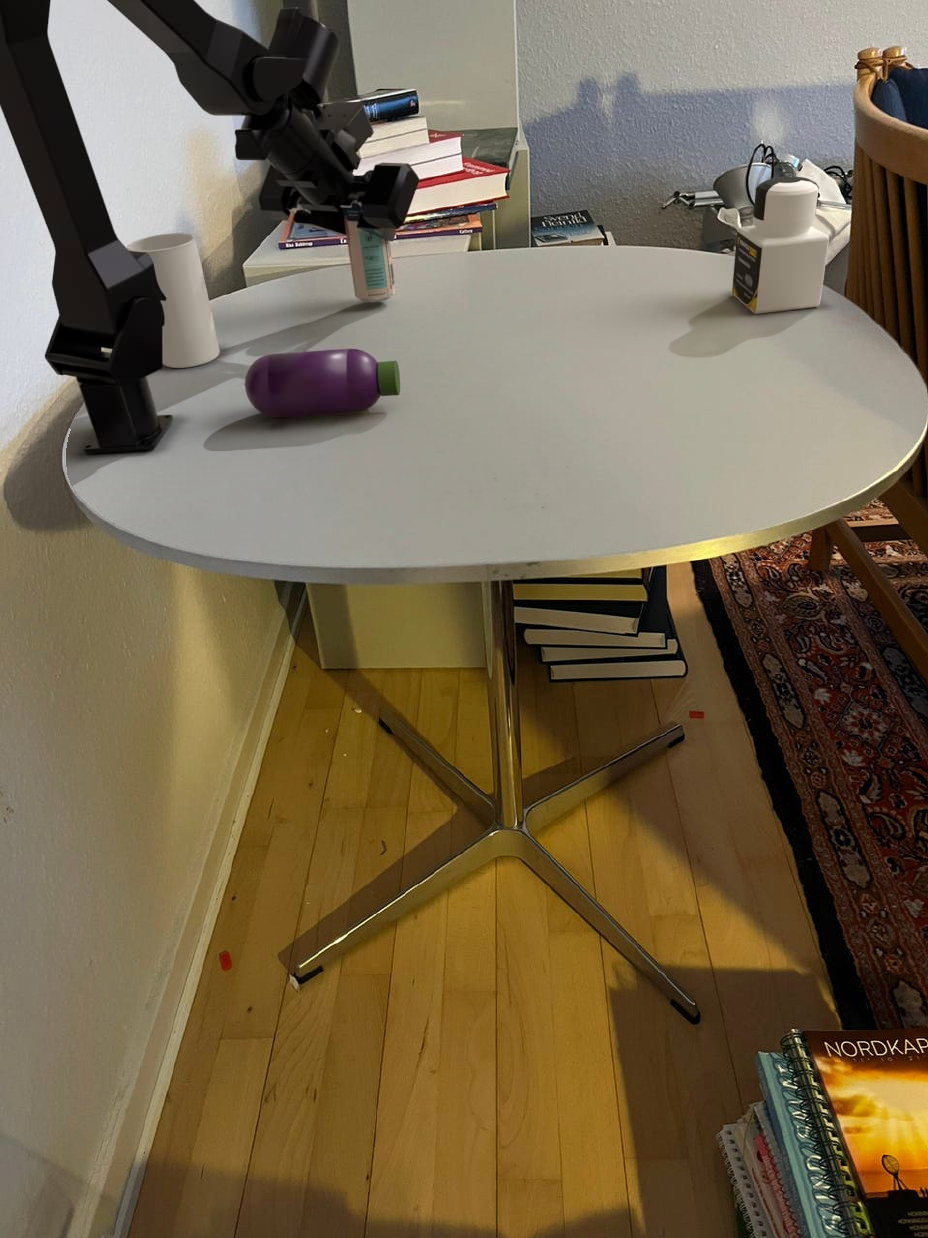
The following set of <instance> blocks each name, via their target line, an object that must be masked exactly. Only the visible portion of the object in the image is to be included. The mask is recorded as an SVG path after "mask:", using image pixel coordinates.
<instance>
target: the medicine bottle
mask: <svg viewBox="0 0 928 1238" xmlns="http://www.w3.org/2000/svg"><path fill="white" fill-rule="evenodd" d="M819 189H820V186H819V185H818V184H817V182H815V181H814V180H812V179H810V178H807V177H803V176H779V177H773V178H772V177H771V178H768V179H766V180H764V181H762V182H760V183H759V184H758V185H757V186H756V188H755V192H754V202H753V203H754V204H753V215H752V225H747V226H740V227H738V228H737V230H736V239H735V251H734V252H735V253H734V265H733V273H732V274H733V276H732V286H731V287H732V288H731V294H732V296H734V297H735V298H736V299H737V300H738V301H740V302H741V303H742V304H743V305H744V306H745V307H746V308H747V309H748V310H749V311H751V312H752V313H753V314H754V315H760V314H766V313H774V312H775V313H776V312H783V311H792V310H801V309H809V308H817V307H819V306H820V304H821V299H822V293H823V285H824V278H825V271H826V265H827V257H828V251H829V250H828V249H829V243H830V237H829V236H828V235H827V234H825V233H824V232H822V231H820V230H819V229H817V228H815V227H814V226H813V225H814V224H815V221H816V214H817V213H816V212H817V205H818V197H819V192H820V191H819Z"/></svg>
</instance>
